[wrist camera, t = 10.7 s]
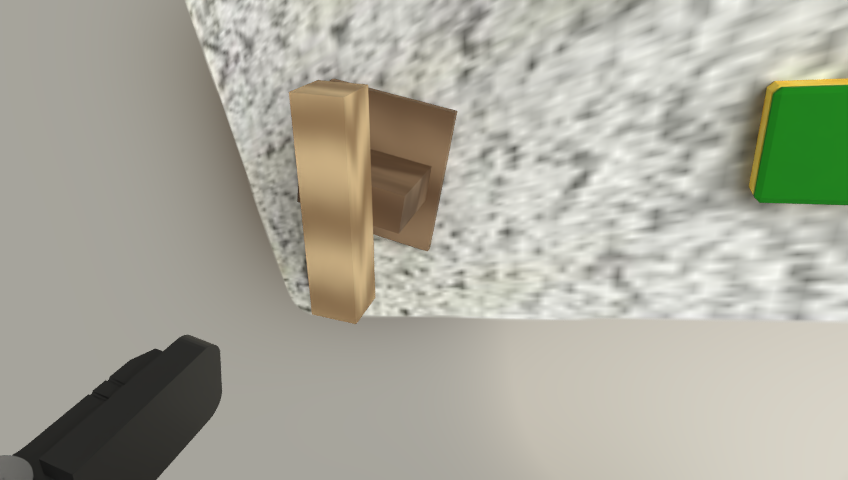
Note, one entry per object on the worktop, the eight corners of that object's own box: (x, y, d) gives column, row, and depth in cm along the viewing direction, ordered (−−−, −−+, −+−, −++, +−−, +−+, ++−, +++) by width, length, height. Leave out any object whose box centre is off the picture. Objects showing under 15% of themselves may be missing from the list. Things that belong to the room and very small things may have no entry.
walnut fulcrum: (333, 78, 41) (288, 97, 35) (457, 111, 39) (429, 136, 33) (323, 214, 47) (283, 248, 41) (429, 248, 45) (403, 289, 39)
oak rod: (317, 80, 34) (288, 92, 31) (368, 84, 33) (343, 97, 30) (333, 289, 42) (312, 314, 39) (375, 297, 41) (356, 324, 38)
